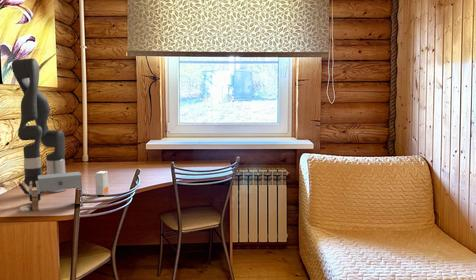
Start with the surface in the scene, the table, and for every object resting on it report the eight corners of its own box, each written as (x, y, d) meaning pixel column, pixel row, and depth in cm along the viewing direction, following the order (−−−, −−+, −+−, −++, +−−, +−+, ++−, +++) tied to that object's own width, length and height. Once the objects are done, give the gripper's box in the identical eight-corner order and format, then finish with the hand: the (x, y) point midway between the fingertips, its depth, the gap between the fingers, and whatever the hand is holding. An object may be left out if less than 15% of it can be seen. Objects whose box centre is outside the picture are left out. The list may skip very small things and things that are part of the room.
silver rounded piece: (19, 210, 197) (18, 206, 196) (30, 208, 200) (30, 204, 199) (21, 213, 193) (21, 208, 192) (33, 211, 196) (33, 206, 196)
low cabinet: (40, 206, 203) (37, 175, 201) (81, 201, 211) (79, 171, 209) (40, 211, 194) (38, 179, 192) (83, 206, 202) (81, 175, 200)
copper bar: (32, 202, 210) (32, 190, 210) (38, 201, 211) (37, 189, 211) (32, 211, 194) (31, 198, 194) (38, 211, 195) (37, 198, 195)
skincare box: (103, 196, 221) (102, 173, 220) (95, 195, 222) (94, 173, 220) (109, 193, 227) (107, 171, 226) (101, 192, 228) (100, 170, 226)
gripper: (48, 164, 212) (50, 198, 214) (16, 166, 206) (19, 201, 208) (48, 166, 205) (51, 201, 207) (16, 169, 199) (19, 205, 201)
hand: (35, 201), depth 208 cm, fingers closed on copper bar, 2 cm apart
